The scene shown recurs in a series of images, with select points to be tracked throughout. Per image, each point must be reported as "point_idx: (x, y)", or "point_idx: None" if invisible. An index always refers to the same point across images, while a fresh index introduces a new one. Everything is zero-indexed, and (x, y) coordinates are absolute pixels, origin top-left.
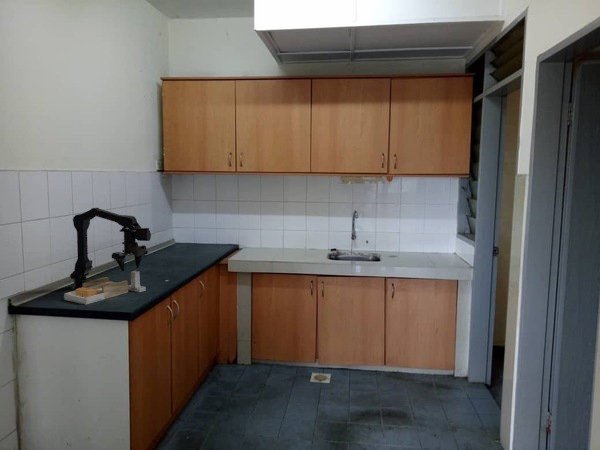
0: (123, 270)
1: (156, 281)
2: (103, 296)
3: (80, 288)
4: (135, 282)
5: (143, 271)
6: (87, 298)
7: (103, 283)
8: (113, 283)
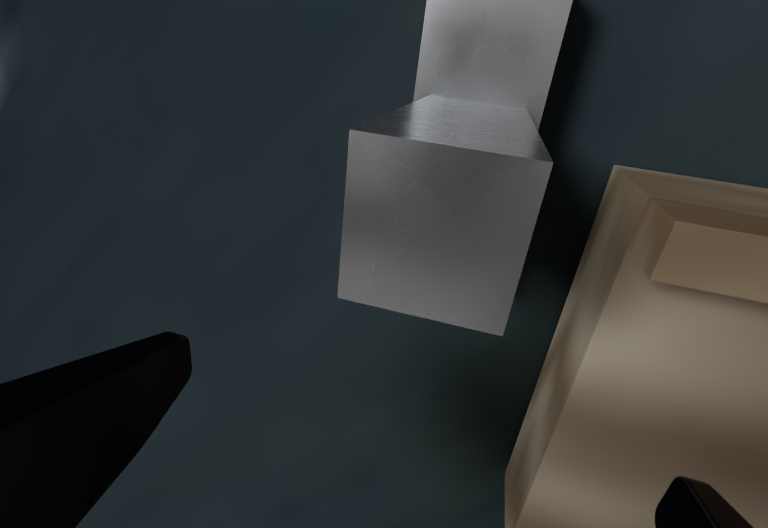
0: (733, 508)
1: (79, 174)
2: None
3: None
4: (522, 118)
5: None
6: None
7: None
8: (621, 436)
